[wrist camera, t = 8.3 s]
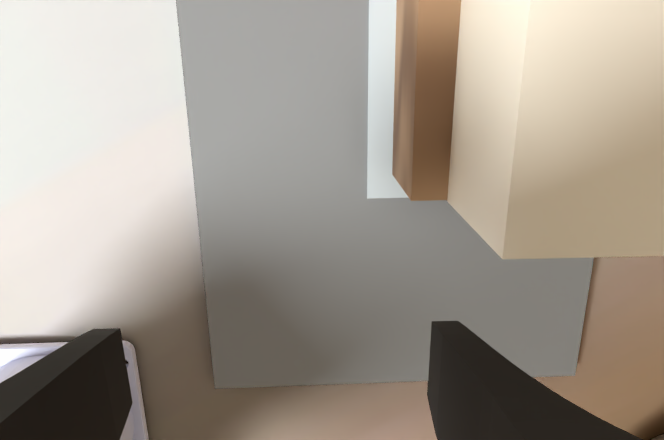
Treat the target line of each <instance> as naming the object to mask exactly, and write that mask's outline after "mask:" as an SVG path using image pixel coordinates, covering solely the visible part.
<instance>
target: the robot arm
mask: <svg viewBox="0 0 664 440" xmlns="http://www.w3.org/2000/svg"><path fill="white" fill-rule="evenodd" d="M126 360H127V361H128V364H126ZM427 396H428V401H429V405H430V410H431V415H432V420H433V424H434V428H435V433H436V436H437V439H438V440H643V439H641V438H638V437H636V436H634V435H632V434H630V433H628V432H626V431H624V430H622V429H619V428H617V427H615V426H613V425H611V424H609V423H608V422H606V421H604V420H602V419H600V418H598V417H596V416H594V415H592V414H591V413H589V412H587V411H585V410H584V409H582V408H580V407H578V406H577V405H575V404H573V403H571V402H570V401H568V400H566V399H565V398H563V397H561V396H560V395H558V394H556V393H555V392H553V391H552V390H550V389H549V388H547V387H546V386H544V385H543V384H541V383H540V382H538V381H537V380H535V379H534V378H532V377H531V376H529V375H528V374H527V373H525V372H524V371H523V370H521V369H520V368H518V367H517V366H516V365H514V364H513V363H512V362H510V361H509V360H508V359H506V358H505V357H504V356H502V355H501V354H500V353H499V352H497V351H496V350H495V349H493V348H492V347H491V346H490V345H488V344H487V343H486V342H485V341H483V340H482V339H481V338H480V337H478V336H477V335H476V334H475V333H473V332H472V331H471V330H470V329H468V328H467V327H466V326H464V325H463V324H462V323H460V322H459V321H432V324H431V341H430V358H429V375H428V392H427ZM0 440H149V438H148V431H147V425H146V418H145V412H144V405H143V399H142V392H141V386H140V379H139V373H138V366H137V360H136V353H135V348H134V346H133V345H132V344H131V343H130V342H128V341H124V340H122V337H121V331H120V329H93V330H91V331H89V332H86V333H84V334H83V335H81V336H79V337H77V338H75V339H74V340H72V341H70V342H55V343H25V344H0Z"/></svg>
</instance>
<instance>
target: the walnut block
mask: <svg viewBox="0 0 664 440" xmlns="http://www.w3.org/2000/svg"><path fill="white" fill-rule="evenodd" d="M460 11H461V0H397V2H396V42H395V82H394V122H393V162H392V175H393V176H394V177H395V179H396V180H397V182H398V183H399V185H400V186H401V187H402V189H403V190H404V192H405V193H406V194H407V196H408V197H409V199H410V200H411V201H431V200H447V198H448V183H449V169H450V155H451V140H452V126H453V112H454V97H455V83H456V68H457V54H458V40H459V25H460Z"/></svg>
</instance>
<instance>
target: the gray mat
mask: <svg viewBox="0 0 664 440" xmlns="http://www.w3.org/2000/svg"><path fill="white" fill-rule="evenodd" d="M396 2H397V0H176V6H177V16H178V26H179V36H180V46H181V56H182V66H183V76H184V86H185V96H186V106H187V116H188V126H189V136H190V146H191V156H192V166H193V176H194V186H195V196H196V206H197V216H198V226H199V236H200V246H201V256H202V266H203V276H204V286H205V296H206V306H207V316H208V326H209V336H210V346H211V356H212V366H213V376H214V386H215V389H223V388H251V387H278V386H306V385H333V384H361V383H388V382H416V381H428V375H429V358H430V341H431V324H432V321H459V322H460V323H462V324H463V325H464V326H466V327H467V328H468V329H470V330H471V331H472V332H473V333H475V334H476V335H477V336H478V337H480V338H481V339H482V340H483V341H485V342H486V343H487V344H488V345H490V346H491V347H492V348H493V349H495V350H496V351H497V352H499V353H500V354H501V355H502V356H504V357H505V358H506V359H508V360H509V361H510V362H512V363H513V364H514V365H516V366H517V367H518V368H520V369H521V370H523V371H524V372H525V373H527V374H528V375H529V376H531V377H553V376H575V373H576V367H577V360H578V354H579V348H580V342H581V335H582V329H583V323H584V317H585V310H586V304H587V298H588V292H589V285H590V279H591V273H592V267H593V260H594V258H545V259H502V258H501V257H500V256H499V255H498V254H497V253H496V252H495V251H494V250H493V249H492V248H491V247H490V246H489V245H488V244H487V243H486V242H485V241H484V240H483V239H482V237H481V236H480V235H479V234H478V233H477V232H476V231H475V230H474V229H473V228H472V227H471V226H470V225H469V224H468V223H467V222H466V221H465V220H464V219H463V218H462V217H461V215H460V214H459V213H458V212H457V211H456V210H455V209H454V208H453V207H452V206H451V205H450V204H449V203H448V202H447V200H431V201H411V200H410V199H409V197H408V196H407V194H406V193H405V192H404V190H403V189H402V187H401V186H400V185H399V183H398V182H397V180H396V179H395V177H394V176H393V175H392V162H393V122H394V82H395V42H396Z"/></svg>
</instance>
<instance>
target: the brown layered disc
mask: <svg viewBox="0 0 664 440" xmlns="http://www.w3.org/2000/svg"><path fill="white" fill-rule="evenodd" d="M650 440H664V434H662V435H659V436H657V437H654V438H652V439H650Z"/></svg>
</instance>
